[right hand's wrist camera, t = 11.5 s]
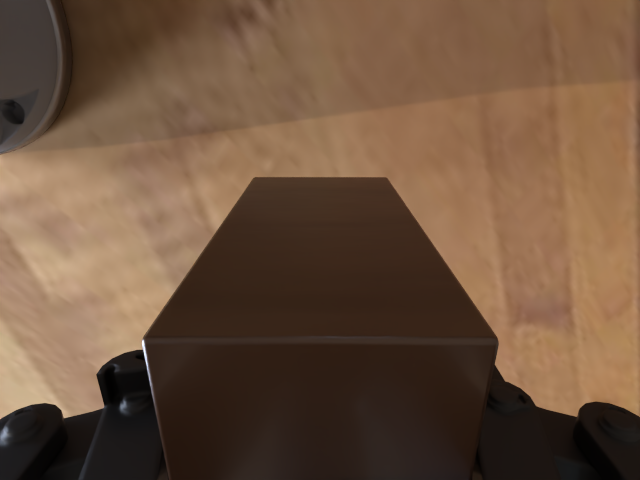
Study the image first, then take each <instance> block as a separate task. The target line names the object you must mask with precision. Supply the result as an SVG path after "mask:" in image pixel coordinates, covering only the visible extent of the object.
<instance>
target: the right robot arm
mask: <svg viewBox="0 0 640 480" xmlns="http://www.w3.org/2000/svg"><path fill="white" fill-rule="evenodd" d="M71 71H72V50H71V40H70V34H69V29H68V25H67V21H66V17H65V14H64V11H63V8H62V5H61V2H60V0H0V154H3V153H7V152H11V151H14V150H17V149H19V148H22V147H24V146H26V145H28V144H29V143H31V142H33V141H34V140H36V139H37V138H38V137H40V136H41V135H42V134H43V133H44V132H45V131H46V130H47V129H48V128H49V127H50V126H51V125H52V123H53V122H54V121H55V119H56V118H57V116H58V114H59V113H60V111H61V109H62V107H63V105H64V102H65V99H66V96H67V93H68V89H69V85H70V80H71ZM96 375H97V379H98V383H99V386H100V390H101V394H102V398H103V402H104V408H103V409H100V410H96V411H93V412H89V413H85V414H81V415H77V416H72V417H68V418H63V414H62V411H61V410H60V409H59V408H58V407H57V406H56V405H52V404H47V403H43V404H35V405H30V406H27V407H24V408H21V409H18V410H16V411H14V412H12V413H10V414H9V415H7V416H5V417H3V418H2V419H0V480H169V477H168V472H167V467H166V462H165V457H164V452H163V446H162V441H161V436H160V431H159V426H158V421H157V416H156V411H155V406H154V401H153V396H152V391H151V386H150V381H149V376H148V371H147V366H146V361H145V356H144V351H143V350H135V351H131V352H127V353H124V354H121V355H119V356H117V357H115V358H113V359H111V360H110V361H109V362H107V363H106V364H105V365H103V366H102V367H101V369H100V370H99V372H98V373H97V374H96ZM471 480H640V417H639V416H637V415H635V414H633V413H632V412H630V411H628V410H626V409H624V408H621V407H618V406H616V405H613V404H610V403H602V402H591V403H586V404H584V405H583V406H582V407H581V408H580V409H579V412H578V416H577V417H575V416H570V415H566V414H562V413H558V412H553V411H549V410H546V409H543V408H539V407H537V406H535V404H534V402H533V401H532V399H531V397H530V396H529V395H528V394H526V393H525V392H524V391H523V390H522V389H520V388H518V387H517V386H515V385H513V384H511V383H509V382H505V381H504V379H503V377H502V376H501V374H500V372H499V371H498V369H497V368H496V366H495V365H494V369H493V374H492V379H491V384H490V389H489V394H488V399H487V404H486V409H485V414H484V419H483V424H482V429H481V434H480V439H479V444H478V448H477V453H476V458H475V463H474V468H473V473H472V478H471Z"/></svg>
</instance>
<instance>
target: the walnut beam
mask: <svg viewBox="0 0 640 480" xmlns="http://www.w3.org/2000/svg"><path fill="white" fill-rule="evenodd" d="M142 346H143V351H144V356H145V361H146V366H147V371H148V376H149V381H150V386H151V391H152V396H153V401H154V406H155V411H156V416H157V421H158V426H159V431H160V436H161V441H162V446H163V452H164V457H165V462H166V467H167V472H168V477H169V480H471V478H472V473H473V468H474V463H475V458H476V453H477V448H478V444H479V439H480V434H481V429H482V424H483V419H484V414H485V409H486V404H487V399H488V394H489V389H490V384H491V379H492V374H493V369H494V365H495V360H496V355H497V350H498V338H497V336H496V335H495V334H494V332H493V331H492V329H491V328H490V326H489V325H488V323H487V322H486V321H485V319H484V318H483V316H482V315H481V313H480V312H479V310H478V309H477V307H476V306H475V305H474V303H473V302H472V300H471V299H470V297H469V296H468V294H467V293H466V292H465V290H464V289H463V287H462V286H461V284H460V283H459V281H458V280H457V278H456V277H455V276H454V274H453V273H452V271H451V270H450V268H449V267H448V265H447V264H446V263H445V261H444V260H443V258H442V257H441V255H440V254H439V252H438V251H437V249H436V248H435V247H434V245H433V244H432V242H431V241H430V239H429V238H428V236H427V235H426V234H425V232H424V231H423V229H422V228H421V226H420V225H419V223H418V222H417V220H416V219H415V218H414V216H413V215H412V213H411V212H410V210H409V209H408V207H407V206H406V205H405V203H404V202H403V200H402V199H401V197H400V196H399V194H398V193H397V191H396V190H395V189H394V187H393V186H392V184H391V183H390V181H389V180H388V178H386V177H255V178H253V180H252V181H251V182H250V184H249V185H248V187H247V188H246V190H245V191H244V193H243V194H242V195H241V197H240V198H239V200H238V201H237V203H236V204H235V206H234V207H233V208H232V210H231V211H230V213H229V214H228V216H227V217H226V219H225V220H224V221H223V223H222V224H221V226H220V227H219V229H218V230H217V231H216V233H215V234H214V236H213V237H212V239H211V240H210V242H209V243H208V244H207V246H206V247H205V249H204V250H203V252H202V253H201V255H200V256H199V257H198V259H197V260H196V262H195V263H194V265H193V266H192V268H191V269H190V270H189V272H188V273H187V275H186V276H185V278H184V279H183V281H182V282H181V283H180V285H179V286H178V288H177V289H176V291H175V292H174V294H173V295H172V296H171V298H170V299H169V301H168V302H167V304H166V305H165V306H164V308H163V309H162V311H161V312H160V314H159V315H158V317H157V318H156V319H155V321H154V322H153V324H152V325H151V327H150V328H149V330H148V331H147V332H146V334H145V335H144V337H143V340H142Z"/></svg>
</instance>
